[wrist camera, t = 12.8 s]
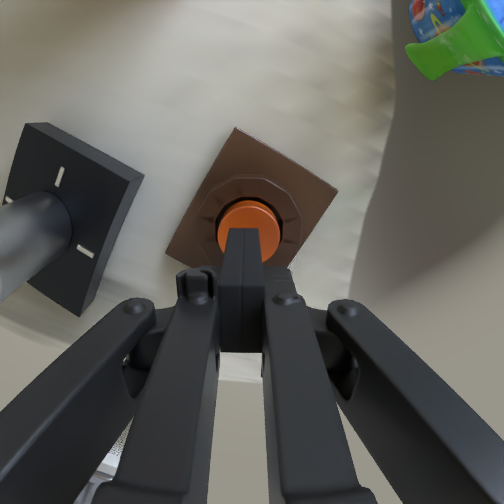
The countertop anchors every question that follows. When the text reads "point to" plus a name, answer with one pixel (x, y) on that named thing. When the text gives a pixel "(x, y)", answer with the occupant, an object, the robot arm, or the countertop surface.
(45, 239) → the dial
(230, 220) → the button
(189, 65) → the countertop surface
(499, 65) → the snack cup
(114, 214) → the control panel
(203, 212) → the button block
